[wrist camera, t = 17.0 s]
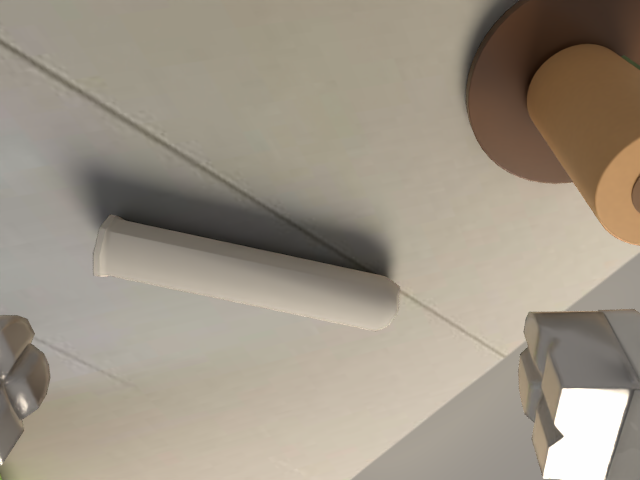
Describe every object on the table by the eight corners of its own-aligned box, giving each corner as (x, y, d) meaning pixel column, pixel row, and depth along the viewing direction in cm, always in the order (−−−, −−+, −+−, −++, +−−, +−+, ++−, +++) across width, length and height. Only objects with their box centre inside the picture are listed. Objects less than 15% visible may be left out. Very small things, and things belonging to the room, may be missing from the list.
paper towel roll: (507, 91, 38) (567, 187, 26) (596, 18, 35) (709, 88, 23) (561, 155, 40) (640, 270, 28) (649, 91, 37) (779, 189, 25)
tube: (412, 288, 44) (96, 221, 43) (395, 349, 46) (88, 285, 44) (402, 268, 50) (120, 207, 48) (387, 323, 51) (112, 266, 50)
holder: (495, -38, 35) (499, -35, 34) (718, -12, 35) (731, -8, 34) (446, 165, 43) (448, 173, 42) (630, 187, 43) (638, 196, 41)
